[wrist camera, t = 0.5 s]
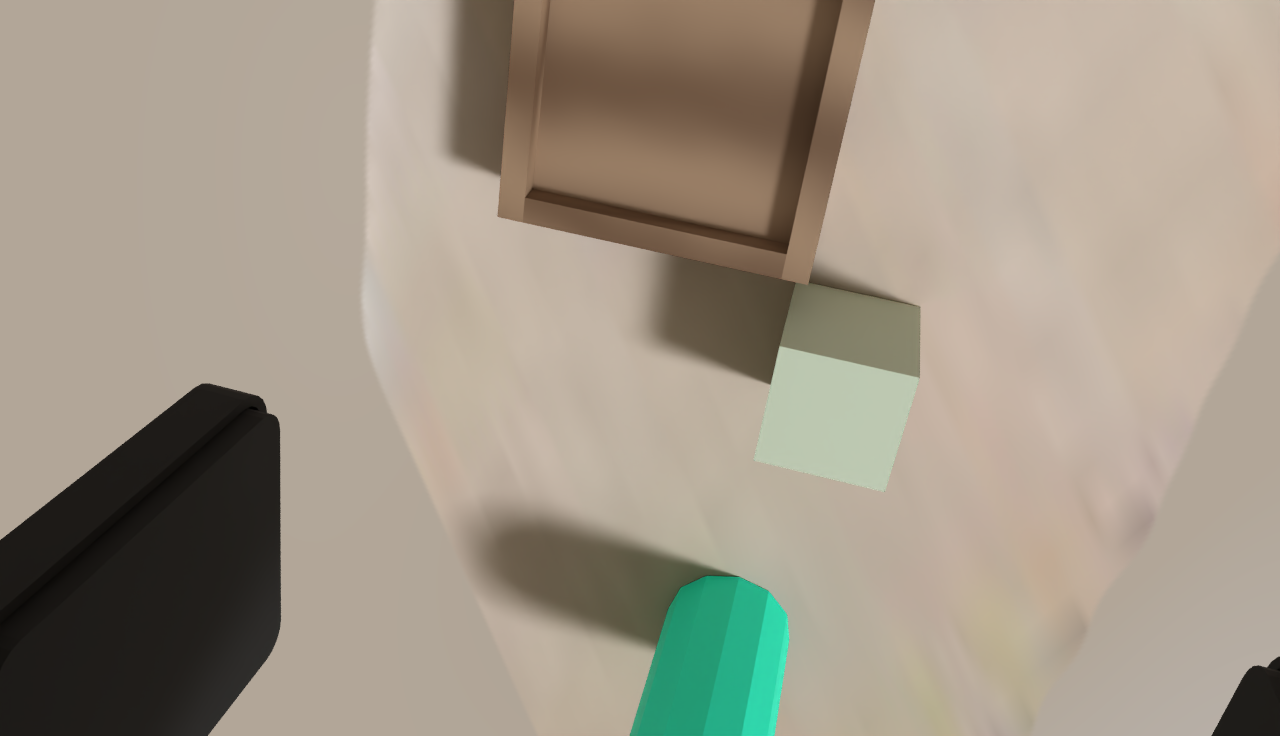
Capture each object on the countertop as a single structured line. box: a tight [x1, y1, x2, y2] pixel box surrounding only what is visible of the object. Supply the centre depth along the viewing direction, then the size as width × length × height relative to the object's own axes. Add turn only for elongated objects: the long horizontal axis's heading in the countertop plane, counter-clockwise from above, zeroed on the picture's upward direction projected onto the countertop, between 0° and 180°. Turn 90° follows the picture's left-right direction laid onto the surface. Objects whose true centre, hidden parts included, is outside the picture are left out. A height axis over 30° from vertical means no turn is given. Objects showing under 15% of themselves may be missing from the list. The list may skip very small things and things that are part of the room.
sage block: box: [754, 283, 920, 492], centre depth 43 cm, size 5×5×6 cm
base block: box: [498, 0, 875, 285], centre depth 40 cm, size 12×12×4 cm
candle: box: [630, 576, 789, 736], centre depth 49 cm, size 6×6×12 cm
